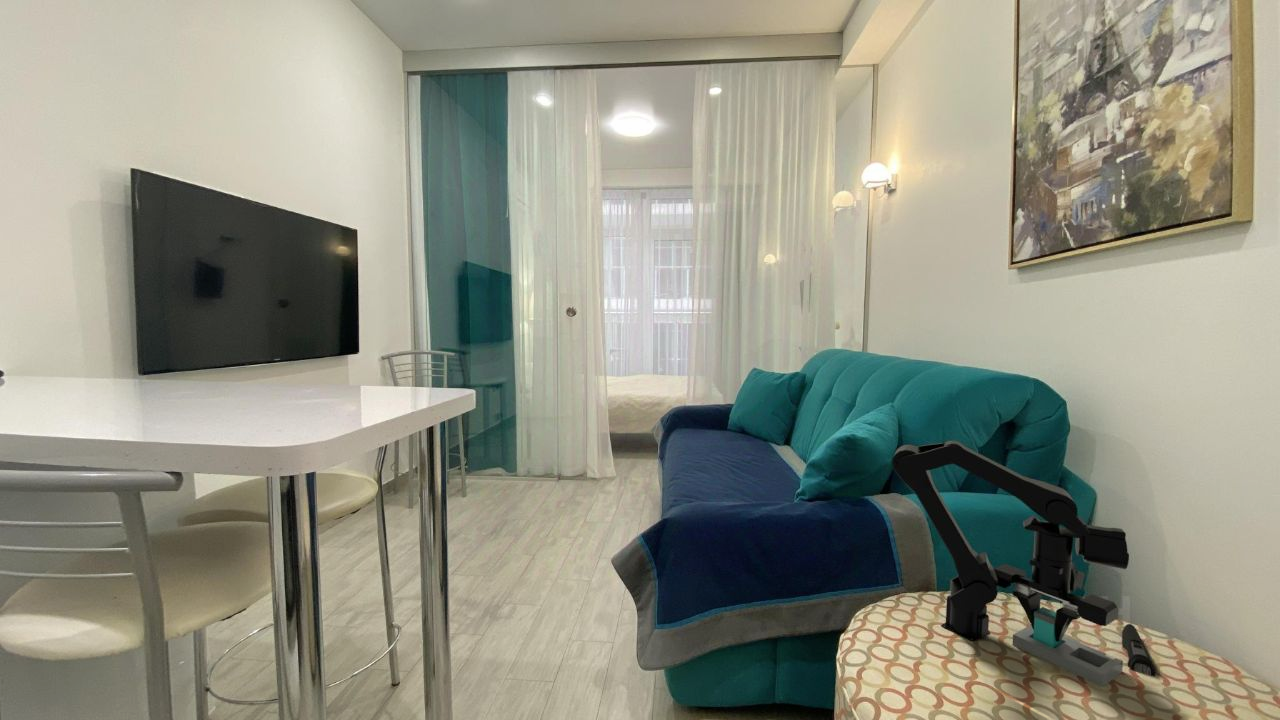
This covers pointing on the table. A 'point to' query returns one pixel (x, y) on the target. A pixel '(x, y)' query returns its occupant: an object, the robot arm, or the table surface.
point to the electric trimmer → (1137, 651)
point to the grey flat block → (1072, 657)
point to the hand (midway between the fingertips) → (1047, 636)
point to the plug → (1045, 627)
